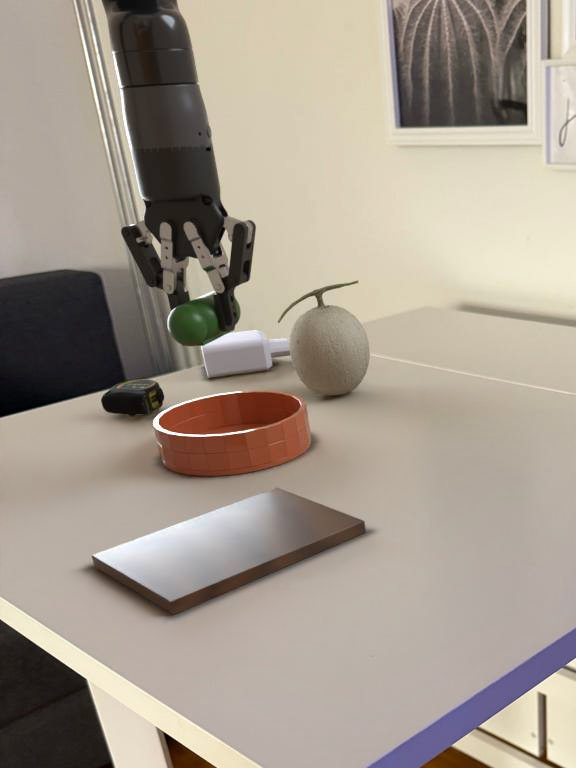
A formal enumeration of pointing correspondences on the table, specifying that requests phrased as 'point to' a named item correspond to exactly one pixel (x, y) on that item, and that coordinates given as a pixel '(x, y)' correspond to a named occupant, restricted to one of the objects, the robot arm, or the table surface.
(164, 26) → the robot arm
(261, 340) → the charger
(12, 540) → the table surface
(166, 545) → the board
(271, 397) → the bowl
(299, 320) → the fruit
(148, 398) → the tape measure
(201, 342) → the cucumber
